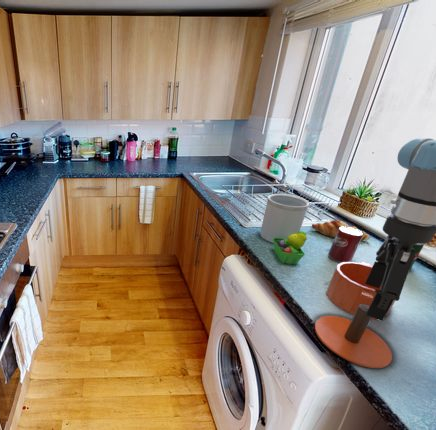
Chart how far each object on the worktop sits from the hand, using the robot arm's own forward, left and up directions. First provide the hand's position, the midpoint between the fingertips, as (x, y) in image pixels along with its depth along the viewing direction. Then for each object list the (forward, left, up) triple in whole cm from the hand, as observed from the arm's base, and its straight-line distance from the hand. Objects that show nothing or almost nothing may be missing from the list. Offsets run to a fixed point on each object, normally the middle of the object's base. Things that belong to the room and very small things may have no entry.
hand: (372, 300), depth 67 cm
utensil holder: (+26, -49, -14) cm, 57 cm away
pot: (-1, -20, -14) cm, 24 cm away
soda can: (+4, -46, -14) cm, 48 cm away
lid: (0, 0, -13) cm, 13 cm away
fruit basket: (+20, -34, -14) cm, 42 cm away
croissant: (+5, -68, -14) cm, 70 cm away
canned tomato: (-13, -55, -14) cm, 58 cm away
